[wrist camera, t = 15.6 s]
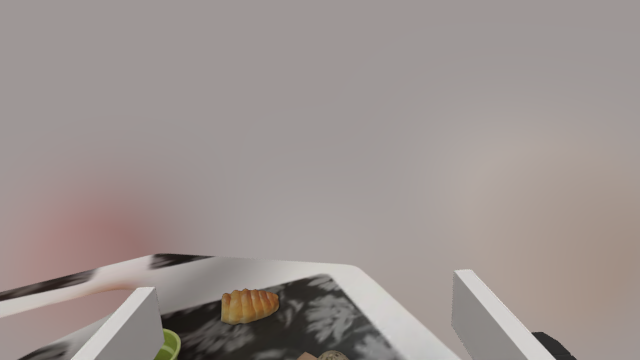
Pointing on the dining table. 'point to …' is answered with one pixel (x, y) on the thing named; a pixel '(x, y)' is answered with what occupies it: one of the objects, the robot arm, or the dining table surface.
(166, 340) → the plant pot
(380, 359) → the dining table surface
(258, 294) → the pastry
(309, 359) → the walnut board
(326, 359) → the decorative egg
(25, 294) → the dining table surface
